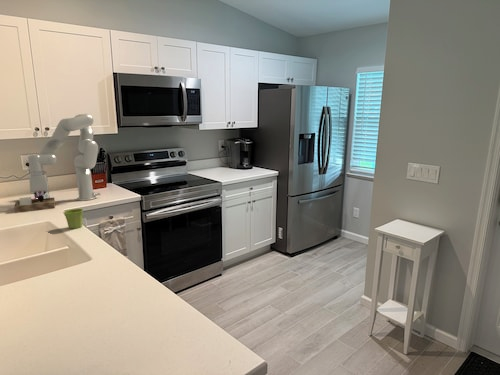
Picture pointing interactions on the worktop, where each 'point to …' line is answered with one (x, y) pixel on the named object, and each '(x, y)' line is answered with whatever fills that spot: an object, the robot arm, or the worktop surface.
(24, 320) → the worktop surface
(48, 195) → the candy bar box
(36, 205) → the box
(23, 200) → the cream block
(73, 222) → the plant pot
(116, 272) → the worktop surface
